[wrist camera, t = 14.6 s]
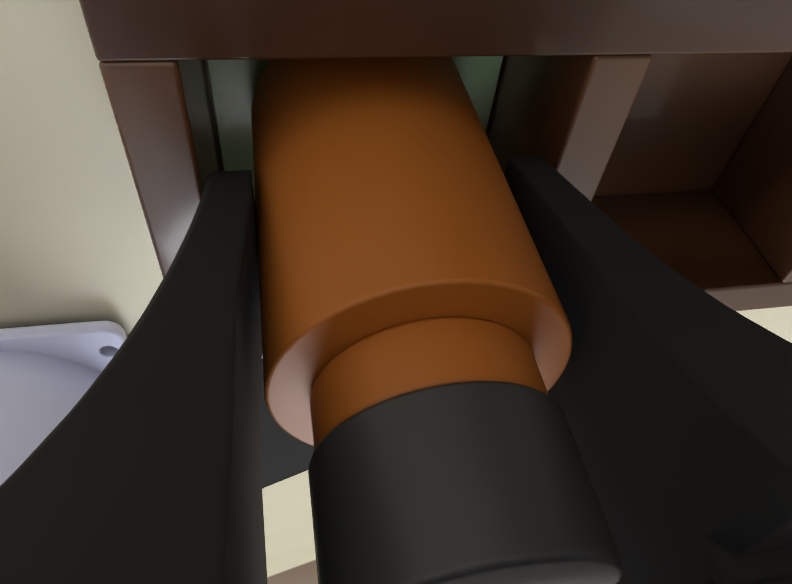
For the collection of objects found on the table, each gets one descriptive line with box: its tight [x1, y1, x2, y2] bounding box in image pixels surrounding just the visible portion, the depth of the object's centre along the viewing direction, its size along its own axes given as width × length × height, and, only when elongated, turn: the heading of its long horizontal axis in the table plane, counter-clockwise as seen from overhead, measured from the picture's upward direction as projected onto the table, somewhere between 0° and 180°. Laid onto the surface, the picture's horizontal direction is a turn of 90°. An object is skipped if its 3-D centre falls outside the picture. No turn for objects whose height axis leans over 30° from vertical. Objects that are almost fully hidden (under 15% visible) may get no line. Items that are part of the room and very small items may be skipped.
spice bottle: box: [251, 57, 623, 584], centre depth 10 cm, size 4×4×10 cm
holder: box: [79, 0, 792, 311], centre depth 13 cm, size 8×15×4 cm, turn 85°
